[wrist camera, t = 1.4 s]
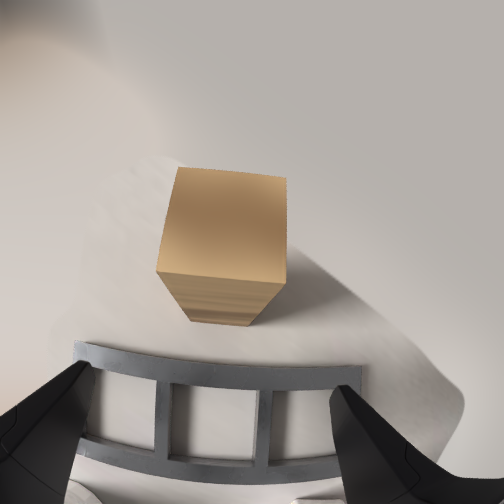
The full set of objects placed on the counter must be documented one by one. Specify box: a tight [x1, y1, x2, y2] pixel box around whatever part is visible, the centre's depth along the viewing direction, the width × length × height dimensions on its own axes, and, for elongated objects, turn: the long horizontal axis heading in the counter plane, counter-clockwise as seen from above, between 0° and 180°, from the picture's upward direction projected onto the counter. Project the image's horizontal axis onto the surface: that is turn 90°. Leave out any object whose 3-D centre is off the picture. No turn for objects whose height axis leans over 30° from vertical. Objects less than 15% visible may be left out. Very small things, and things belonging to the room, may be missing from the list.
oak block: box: [156, 167, 287, 327], centre depth 16 cm, size 4×4×13 cm
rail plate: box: [73, 340, 362, 485], centre depth 17 cm, size 10×23×2 cm, turn 87°
